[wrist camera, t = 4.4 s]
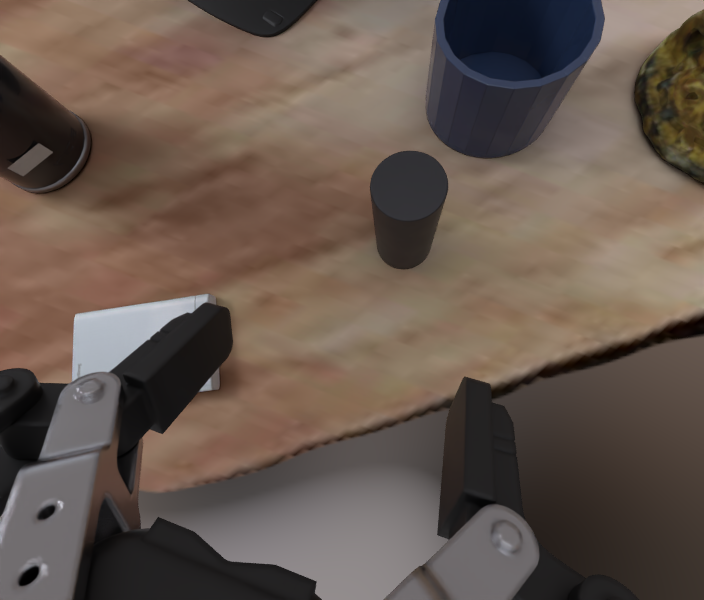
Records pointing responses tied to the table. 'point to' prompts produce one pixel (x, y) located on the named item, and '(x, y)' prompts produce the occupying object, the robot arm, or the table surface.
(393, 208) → the canister
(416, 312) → the table surface
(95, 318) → the hard drive
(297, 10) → the laptop stand
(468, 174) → the table surface
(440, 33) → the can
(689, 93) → the bronze pendant
